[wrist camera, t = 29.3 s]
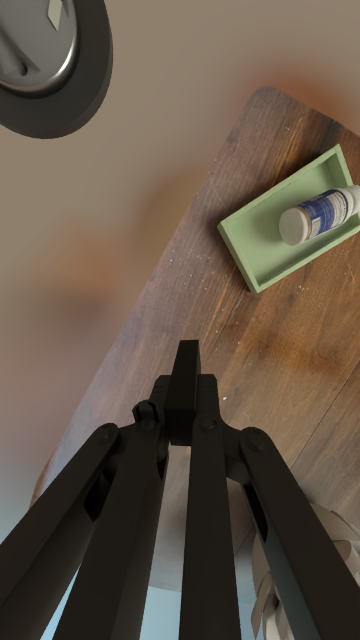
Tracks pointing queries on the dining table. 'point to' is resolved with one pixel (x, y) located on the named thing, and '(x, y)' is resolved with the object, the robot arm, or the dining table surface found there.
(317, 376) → the dining table surface
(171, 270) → the dining table surface
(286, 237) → the pill bottle
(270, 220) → the tray
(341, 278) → the dining table surface
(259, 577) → the decorative bowl
